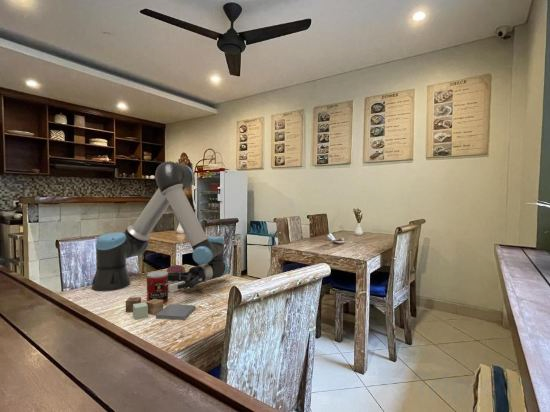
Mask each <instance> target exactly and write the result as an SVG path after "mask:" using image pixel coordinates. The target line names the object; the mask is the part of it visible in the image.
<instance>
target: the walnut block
mask: <svg viewBox="0 0 550 412" xmlns="http://www.w3.org/2000/svg"><path fill="white" fill-rule="evenodd" d="M138 303H142V297H141V296H137V297H136V296H132V297H128V298H127V299H126V301H125V313H133V304H138Z"/></svg>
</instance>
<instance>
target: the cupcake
mask: <svg viewBox="0 0 550 412" xmlns="http://www.w3.org/2000/svg"><path fill="white" fill-rule="evenodd" d="M173 263H174V264H173V265H170V266H169V267H168V268H167V270H166V272H168V273H174V272H180V271H182V273H184V272H186V268H185V267H184V266H182V265H180V264H177V263H176V257H175V256H174V257H173ZM179 279H180V278H179ZM180 280H181V279H180Z"/></svg>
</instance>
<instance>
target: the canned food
mask: <svg viewBox="0 0 550 412" xmlns="http://www.w3.org/2000/svg"><path fill="white" fill-rule="evenodd" d="M153 299H159V300H163V305H164V304H165V303H167V302H168V299H169V281H168V272H167V271H164V270H163V271H161V270H157V271H151V272H149V273H147V275H146V302H148V301H150V300H153Z"/></svg>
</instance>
